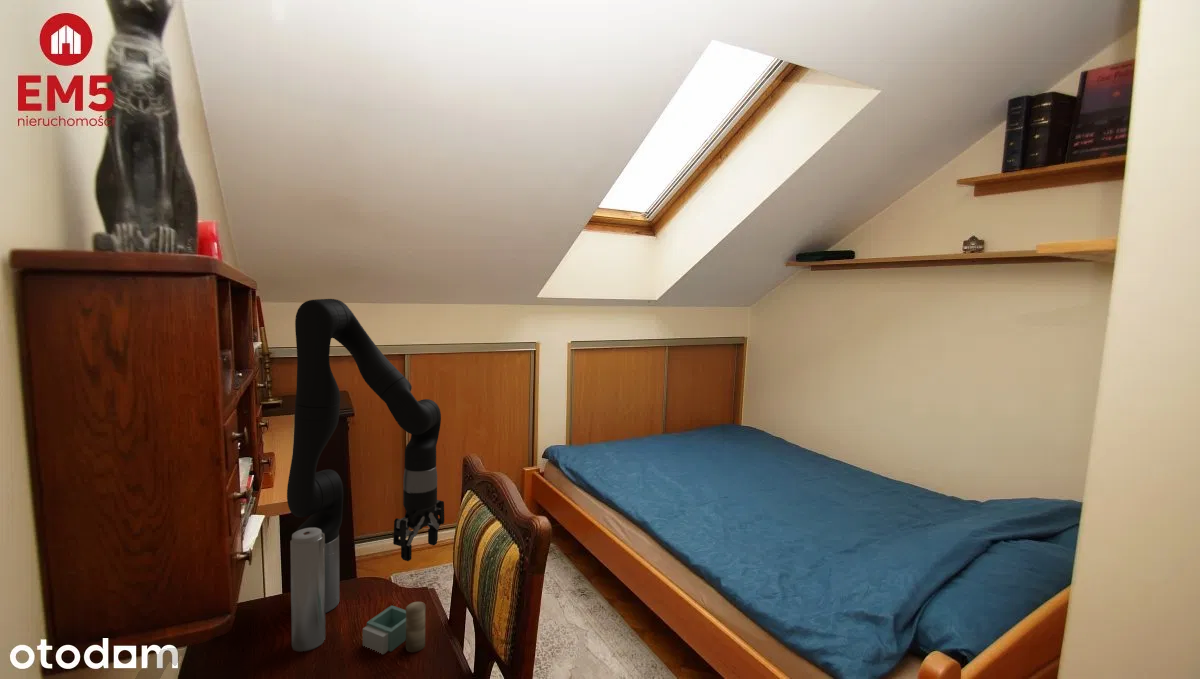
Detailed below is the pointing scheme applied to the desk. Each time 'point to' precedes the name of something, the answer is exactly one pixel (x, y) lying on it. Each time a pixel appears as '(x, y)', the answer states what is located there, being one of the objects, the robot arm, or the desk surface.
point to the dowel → (415, 626)
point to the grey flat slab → (375, 639)
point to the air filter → (307, 589)
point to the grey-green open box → (391, 625)
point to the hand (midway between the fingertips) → (419, 551)
